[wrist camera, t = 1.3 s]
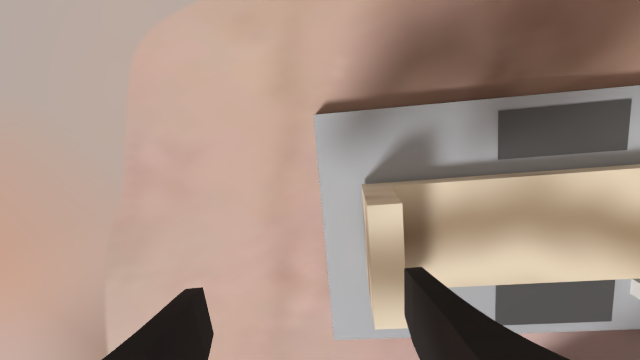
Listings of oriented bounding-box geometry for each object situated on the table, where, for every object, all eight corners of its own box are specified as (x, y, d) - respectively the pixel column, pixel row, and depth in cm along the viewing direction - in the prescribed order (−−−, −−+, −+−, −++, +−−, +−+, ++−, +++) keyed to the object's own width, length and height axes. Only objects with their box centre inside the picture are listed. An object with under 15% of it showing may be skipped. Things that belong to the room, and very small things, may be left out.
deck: (873, 307, 21) (907, 320, 20) (334, 328, 24) (333, 341, 22) (938, 58, 18) (983, 54, 17) (315, 114, 21) (313, 114, 19)
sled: (749, 264, 19) (873, 310, 15) (367, 282, 21) (374, 329, 17) (768, 154, 18) (909, 168, 14) (361, 184, 20) (367, 205, 15)
